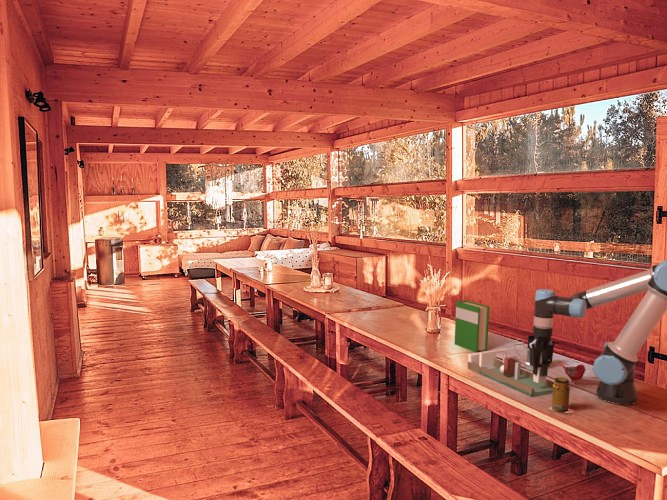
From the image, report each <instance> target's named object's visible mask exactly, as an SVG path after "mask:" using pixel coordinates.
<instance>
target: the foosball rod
mask: <svg viewBox="0 0 667 500" xmlns="http://www.w3.org/2000/svg"><path fill="white" fill-rule="evenodd" d="M524 360H525V359H524ZM524 360H523V359H522V358H519V357H517V356H515V355H514V356H507V357H506V358H504V376H513V375H515V363H516V362H519V363H521V364H522V365H524V366H526V365H527V366H529V367H532V368H533V366H531V365H530V364H529V362H527V361H526V360H525V361H524ZM539 367H540V376H541V377H543V376H546V377H548V371H549V370H548V369H549V366H548V364H546V363H543V362H541V361H540V363H539Z"/></svg>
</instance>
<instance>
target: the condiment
mask: <svg viewBox="0 0 667 500" xmlns="http://www.w3.org/2000/svg"><path fill="white" fill-rule="evenodd" d="M553 382H554V385H553V393H551V395H552V396H551V397H552V398H551V406H550V407H548V408H547V410H550V411H554V412H557V413H561V414H565V415H569V416H571V415H570V414H569V413H562V412H566V411H568V408H570V407H569V406H570V405H569V404H570V390H571V389H570V388H571V387H570V380H569V379H568V378H565V377H558V376H557V377H555V378H554V380H553Z"/></svg>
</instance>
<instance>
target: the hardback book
mask: <svg viewBox="0 0 667 500" xmlns="http://www.w3.org/2000/svg"><path fill="white" fill-rule="evenodd" d="M489 321H490V306H489V305H485V304H482V303H477V302H475V301H470V300H459V301H458V300H457V301H456V303H455V326H454V344H453V345H456V346H459V347H461V348H463V349H467V350H468V351H471V352H474V353H479V351H483V352H487V351H488V342H489V341H488V340H489Z"/></svg>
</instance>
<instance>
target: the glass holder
mask: <svg viewBox="0 0 667 500" xmlns="http://www.w3.org/2000/svg"><path fill="white" fill-rule="evenodd" d="M533 340H534V335H528V336H527V347H525V342H524V340H523V339H522V338H517V339H515V341H514V346H513V347H514V350H515V353H516V355H518V356H519V357H520V359H521V360H524V361H527V362H529V345H528V343H532V342H533ZM517 341H522V344H523V345H522V346H523V348H524V349H526V358H525V359H524V357H523V356H521V355H520V354H519V352H518V351H517V348H516V342H517ZM540 361H541V362H542V352H541V358H540ZM524 366H525V367H524V368H525V369H527V371H528V370H529V371H532V372H533V368H532V367H529V366H527V365H524Z"/></svg>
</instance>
